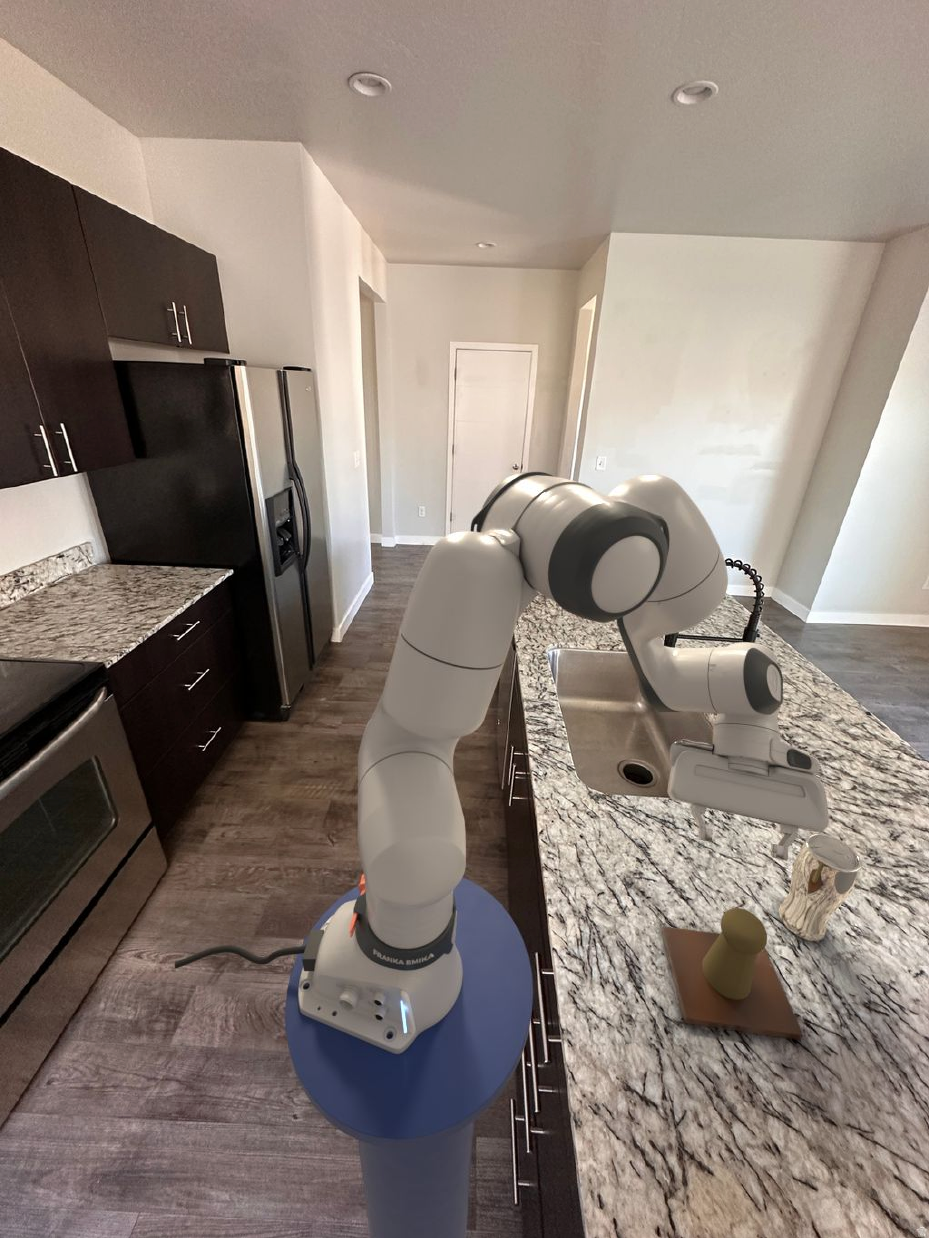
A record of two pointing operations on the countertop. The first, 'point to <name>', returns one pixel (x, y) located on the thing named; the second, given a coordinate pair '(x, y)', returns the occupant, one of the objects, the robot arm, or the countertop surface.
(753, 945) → the pepper mill
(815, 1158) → the countertop surface
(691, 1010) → the cutting board
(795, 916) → the beer glass
